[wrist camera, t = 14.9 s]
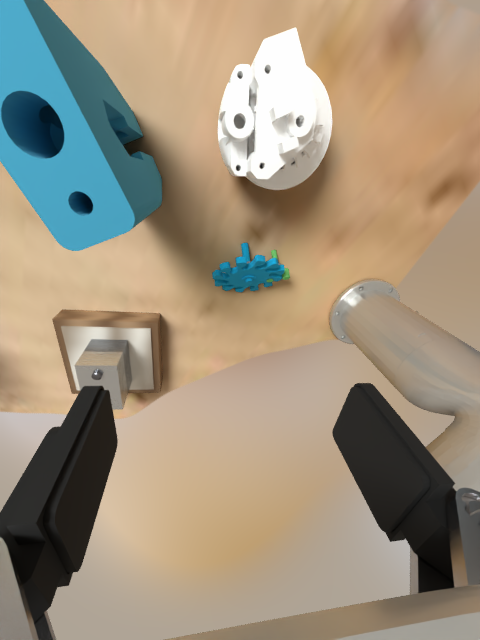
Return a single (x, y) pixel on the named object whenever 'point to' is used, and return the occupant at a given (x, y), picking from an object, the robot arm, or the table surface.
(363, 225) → the table surface
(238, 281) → the gear
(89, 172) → the block
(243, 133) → the mechanical part
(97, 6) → the table surface
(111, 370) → the block
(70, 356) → the stand
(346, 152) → the table surface
